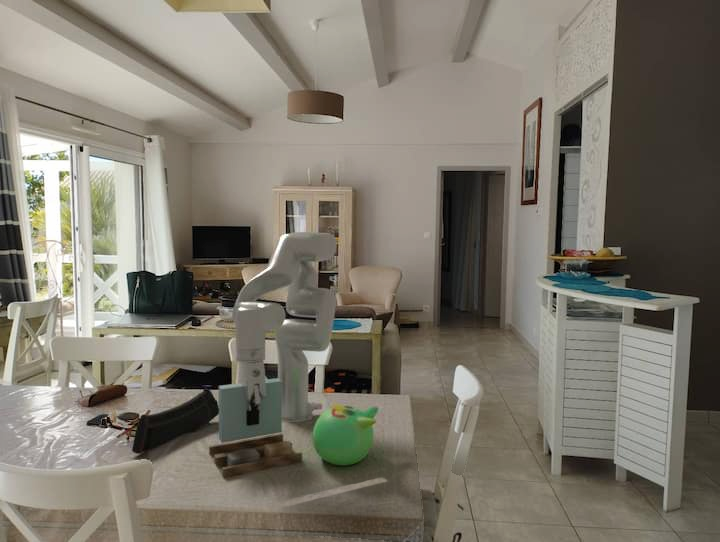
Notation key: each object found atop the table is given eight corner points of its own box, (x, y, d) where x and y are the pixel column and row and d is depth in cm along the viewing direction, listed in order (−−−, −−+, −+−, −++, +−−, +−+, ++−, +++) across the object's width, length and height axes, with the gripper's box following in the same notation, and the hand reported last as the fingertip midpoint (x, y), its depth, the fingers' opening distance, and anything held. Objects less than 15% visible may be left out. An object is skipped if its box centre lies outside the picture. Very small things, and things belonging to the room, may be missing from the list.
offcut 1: (254, 460, 134) (254, 448, 134) (259, 466, 131) (259, 454, 130) (227, 465, 131) (227, 453, 131) (231, 472, 127) (231, 460, 127)
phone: (101, 413, 166) (145, 417, 164) (101, 417, 166) (145, 420, 164) (84, 422, 158) (130, 426, 156) (84, 426, 158) (130, 430, 156)
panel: (277, 428, 144) (277, 378, 143) (281, 432, 142) (281, 381, 140) (219, 438, 137) (218, 385, 135) (221, 442, 134) (221, 389, 133)
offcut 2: (286, 453, 138) (286, 440, 138) (291, 459, 135) (291, 446, 134) (264, 458, 135) (264, 444, 135) (269, 464, 132) (269, 450, 132)
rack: (281, 442, 148) (281, 432, 147) (302, 465, 134) (302, 454, 133) (208, 456, 138) (208, 445, 138) (223, 482, 124) (223, 470, 124)
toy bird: (316, 445, 146) (317, 393, 145) (377, 447, 146) (378, 395, 145) (308, 475, 128) (308, 417, 127) (377, 477, 128) (378, 418, 127)
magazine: (132, 428, 133) (210, 368, 158) (123, 425, 135) (202, 367, 160) (148, 482, 139) (221, 416, 164) (139, 479, 140) (213, 414, 166)
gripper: (274, 359, 132) (274, 430, 133) (255, 345, 146) (255, 410, 148) (245, 362, 128) (245, 435, 130) (228, 348, 143) (228, 414, 144)
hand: (250, 421), depth 139 cm, fingers closed on panel, 3 cm apart
